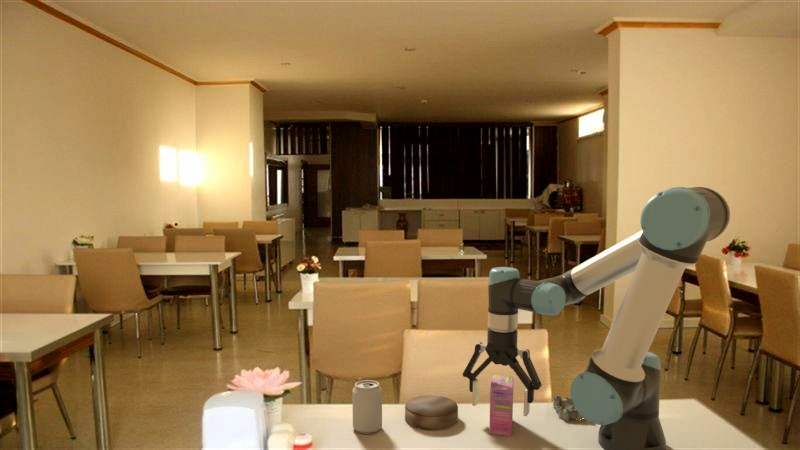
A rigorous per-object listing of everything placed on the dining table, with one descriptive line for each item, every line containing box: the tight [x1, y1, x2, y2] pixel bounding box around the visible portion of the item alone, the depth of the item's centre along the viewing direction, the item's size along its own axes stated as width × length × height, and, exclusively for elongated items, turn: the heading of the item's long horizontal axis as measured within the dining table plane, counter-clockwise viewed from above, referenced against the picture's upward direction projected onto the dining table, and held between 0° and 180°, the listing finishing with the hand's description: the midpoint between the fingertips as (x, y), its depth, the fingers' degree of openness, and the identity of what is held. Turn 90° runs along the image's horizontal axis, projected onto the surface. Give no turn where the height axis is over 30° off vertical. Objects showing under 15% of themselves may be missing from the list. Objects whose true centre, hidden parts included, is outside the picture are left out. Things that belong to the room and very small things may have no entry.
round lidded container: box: [404, 394, 459, 432], centre depth 160 cm, size 14×14×4 cm
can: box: [351, 379, 383, 435], centre depth 154 cm, size 8×8×12 cm
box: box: [488, 374, 515, 437], centre depth 155 cm, size 10×6×12 cm, turn 168°
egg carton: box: [552, 392, 584, 421], centre depth 164 cm, size 11×8×4 cm
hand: (500, 409), depth 156 cm, fingers open, 13 cm apart
